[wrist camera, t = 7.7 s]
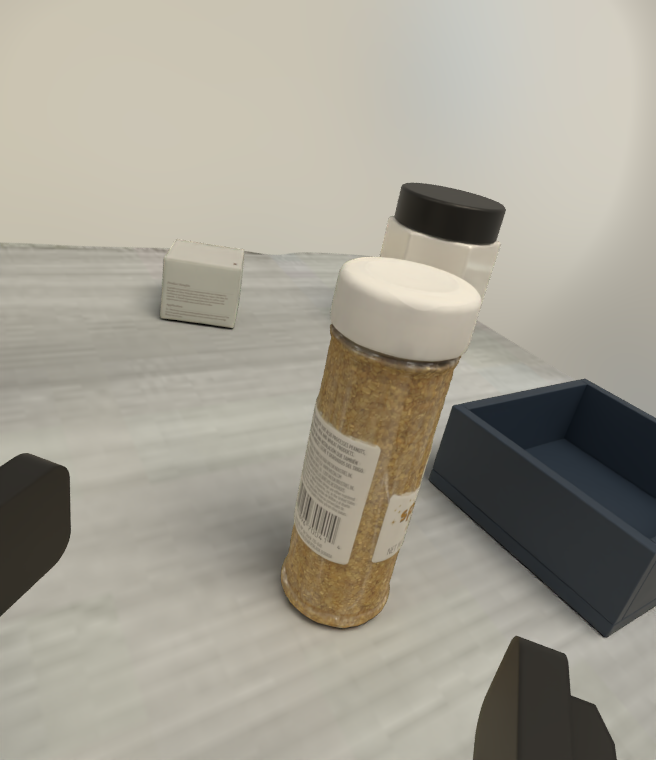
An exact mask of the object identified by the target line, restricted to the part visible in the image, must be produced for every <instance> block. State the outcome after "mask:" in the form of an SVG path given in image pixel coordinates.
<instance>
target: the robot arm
mask: <svg viewBox="0 0 656 760" xmlns="http://www.w3.org/2000/svg"><path fill="white" fill-rule="evenodd" d="M70 533H71V520H70V476H69V472H68V470H67V468H66V467H64V466H62V465H59V464H56V463H53V462H51V461H48V460H45V459H43V458H40V457H37V456H35V455H32V454H29V453H23V454H20V455H18V456H16V457H14V458H13V459H11V460H10V461H8V462H7V463H5V464H4V465H2V466H1V467H0V616H1V615H2V614H3V613H5V612H6V611H7V610H8V609H9V608H10V607H11V606H12V605H13V604H14V603H15V602H16V601H17V600H18V599H19V598H20V597H21V596H23V595H24V594H25V593H26V592H27V591H28V590H29V589H30V588H31V587H32V586H33V585H34V584H35V583H36V582H37V581H38V580H40V579H41V578H42V577H43V576H44V575H45V574H46V573H47V572H48V571H49V570H50V569H51V568H52V567H53V566H54V565H55V564H56V563H57V562H58V561H59V559H60V558H61V556H62V555H63V553H64V551H65V549H66V547H67V545H68V542H69V538H70ZM473 760H617V758H616V751H615V744H614V742H613V740H612V738H611V736H610V734H609V732H608V730H607V727H606V725H605V723H604V721H603V719H602V717H601V715H600V713H599V711H598V709H597V707H596V705H594V704H592V703H589V702H587V701H584V700H581V699H579V698H576V697H574V696H571V693H570V679H569V665H568V659H567V657H566V655H565V654H564V653H561V652H559V651H556V650H553V649H551V648H548V647H545V646H542V645H540V644H537V643H534V642H532V641H529V640H526V639H524V638H521V637H518V636H515V637H514V638H513V639H512V641H511V643H510V644H509V647H508V649H507V651H506V653H505V655H504V657H503V660H502V662H501V664H500V666H499V668H498V670H497V672H496V675H495V677H494V679H493V681H492V683H491V685H490V687H489V690H488V692H487V694H486V696H485V699H484V701H483V704H482V707H481V711H480V714H479V719H478V723H477V728H476V734H475V743H474V754H473Z"/></svg>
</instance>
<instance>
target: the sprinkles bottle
mask: <svg viewBox="0 0 656 760" xmlns="http://www.w3.org/2000/svg"><path fill="white" fill-rule="evenodd" d="M480 307H481V297H480V295H479V293H478V292H477V290H476V289H475V288H474V287H473V286H472V285H470V284H469V283H468V282H466V281H465V280H463V279H461V278H459V277H457V276H455V275H453V274H450V273H448V272H446V271H443V270H440V269H437V268H434V267H431V266H428V265H425V264H421V263H417V262H412V261H407V260H401V259H395V258H386V257H361V258H356V259H353V260H350V261H348V262H346V263H345V264H344V265H343V266H342V267H341V269H340V271H339V275H338V279H337V283H336V288H335V292H334V296H333V302H332V307H331V312H330V319H331V323H332V324H331V325H330V334H331V341H330V345H329V349H328V355H327V360H326V365H325V369H324V375H323V379H322V383H321V388H320V392H319V395H318V397H317V400H316V404H315V409H314V414H313V419H312V424H311V429H310V434H309V439H308V444H307V449H306V454H305V459H304V464H303V469H302V474H301V480H300V485H299V490H298V495H297V500H296V506H295V511H294V522H295V523H294V526H293V530H292V535H291V540H290V548H289V553H288V555H287V557H286V558H285V560H284V563H283V565H282V570H281V583H282V586H283V589H284V592H285V594H286V596H287V597H288V598H289V601H290V602H291V603H292V604H293V606H294V607H295V608H297V609H298V610H299V611H300V612H301V613H302V614H303V615H305V616H306V617H308V618H310V619H311V620H313V621H315V622H318V623H321V624H325V625H329V626H333V627H340V628H347V627H352V626H358V625H361V624H364V623H365V622H367V621H368V620H370V619H372V618H374V617H375V616H376V615H378V613H380V611H381V610H382V609H383V607H384V605H385V604H386V602H387V599H388V595H389V590H390V585H389V582H390V579H391V576H392V573H393V569H394V565H395V561H396V559H397V555H398V553H399V550H400V547H401V546H402V544H403V542H404V538H405V535H406V532H407V529H408V525H409V522H410V519H411V515H412V512H413V508H414V505H415V502H416V498H417V495H418V492H419V488H420V485H421V482H422V479H423V475H424V472H425V469H426V466H427V462H428V459H429V456H430V453H431V449H432V443H433V437H434V433H435V430H436V427H437V424H438V421H439V418H440V414H441V411H442V409H443V405H444V401H445V397H446V395H447V392H448V389H449V386H450V381H451V380H452V376H453V371H454V369H455V367H456V366H457V364H458V363H459V360H460V358H461V355H463V354H464V353H465V352H466V351H467V349H468V347H469V344H470V341H471V338H472V335H473V332H474V329H475V325H476V322H477V318H478V314H479V311H480Z"/></svg>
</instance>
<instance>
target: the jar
mask: <svg viewBox="0 0 656 760" xmlns="http://www.w3.org/2000/svg"><path fill="white" fill-rule="evenodd" d="M505 211H506V209H505V207H504V206H503V205H502V204H500V203H498V202H496V201H494V200H491V199H488V198H486V197H483V196H480V195H476V194H473V193H469V192H465V191H461V190H457V189H452V188H448V187H443V186H437V185H431V184H422V183H406V184H403V185H402V187H401V191H400V196H399V199H398V204H397V208H396V212H395V216H391V217H389V219H388V223H387V228H386V232H385V236H384V241H383V245H382V249H381V254H380V257H386V258H395V259H401V260H407V261H412V262H417V263H421V264H425V265H428V266H431V267H434V268H437V269H440V270H443V271H446V272H448V273H450V274H453V275H455V276H457V277H459V278H461V279H463V280H465V281H466V282H468V283H469V284H470V285H472V286H473V287H474V288H475V289H476V290H477V292H478V293H479V295H480V297H481V305H482V302H483V299H484V296H485V293H486V289H487V286H488V283H489V280H490V277H491V274H492V271H493V268H494V265H495V262H496V258H497V255H498V252H499V249H500V246H501V244H500V242H498V241H496V240H497V237H498V233H499V230H500V227H501V224H502V221H503V217H504V214H505ZM480 308H481V307H480Z"/></svg>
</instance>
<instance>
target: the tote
mask: <svg viewBox="0 0 656 760" xmlns="http://www.w3.org/2000/svg"><path fill="white" fill-rule="evenodd" d="M429 480H430V481H431V482H432V483H433V484H434V485H435V486H436V487H437V488H439V489H440V490H441V491H442V492H443V493H444V494H445V495H446V496H448V497H449V498H450V499H451V500H452V501H453V502H454V503H455V504H457V505H458V506H459V507H460V508H461V509H462V510H463V511H464V512H465V513H467V514H468V515H469V516H470V517H471V518H472V519H473V520H474V521H476V522H477V523H478V524H479V525H480V526H481V527H482V528H483V529H485V530H486V531H487V532H488V533H489V534H490V535H491V536H492V537H493V538H495V539H496V540H497V541H498V542H499V543H500V544H501V545H502V546H504V547H505V548H506V549H507V550H508V551H509V552H510V553H511V554H513V555H514V556H515V557H516V558H517V559H518V560H519V561H520V562H522V563H523V564H524V565H525V566H526V567H527V568H528V569H529V570H530V571H532V572H533V573H534V574H535V575H536V576H537V577H538V578H539V579H541V580H542V581H543V582H544V583H545V584H546V585H547V586H548V587H550V588H551V589H552V590H553V591H554V592H555V593H556V594H557V595H558V596H560V597H561V598H562V599H563V600H564V601H565V602H566V603H567V604H569V605H570V606H571V607H572V608H573V609H574V610H575V611H576V612H578V613H579V614H580V615H581V616H582V617H583V618H584V619H585V620H586V621H588V622H589V623H590V624H591V625H592V626H593V627H594V628H595V629H597V630H598V631H599V632H600V633H601V634H602V635H603V636H604V637H608V636H610V635H611V634H613V633H614V632H616V631H617V630H619V629H621V628H622V627H624V626H625V625H627V624H628V623H630V622H631V621H633V620H634V619H636V618H638V617H639V616H641V615H642V614H644V613H645V612H647V611H648V610H650V609H651V608H653V607H655V606H656V418H654V417H653V416H651V415H649V414H647V413H646V412H644V411H642V410H640V409H639V408H637V407H635V406H633V405H631V404H630V403H628V402H626V401H624V400H622V399H621V398H619V397H617V396H615V395H613V394H612V393H610V392H608V391H606V390H604V389H603V388H601V387H599V386H597V385H595V384H594V383H592V382H590V381H588V380H586V379H581V380H576V381H571V382H566V383H561V384H556V385H551V386H546V387H541V388H536V389H531V390H526V391H521V392H516V393H512V394H507V395H502V396H497V397H492V398H487V399H482V400H477V401H472V402H467V403H462V404H458V405H453V406H452V410H451V413H450V416H449V419H448V422H447V425H446V428H445V431H444V434H443V437H442V440H441V444H440V447H439V450H438V453H437V456H436V459H435V462H434V465H433V470H432V472H431V475H430V478H429Z"/></svg>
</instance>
